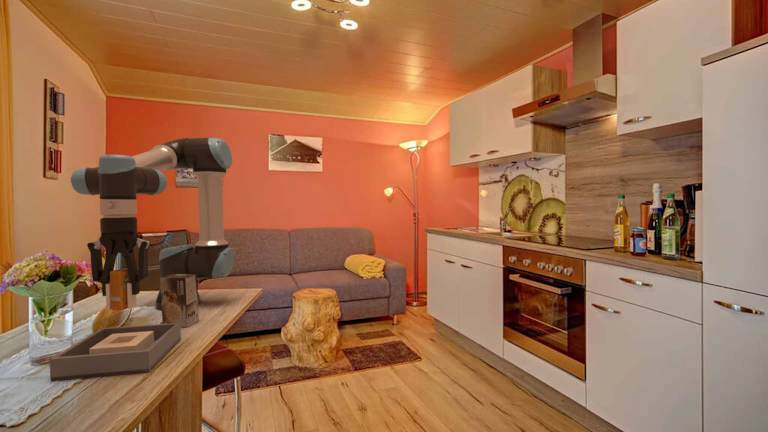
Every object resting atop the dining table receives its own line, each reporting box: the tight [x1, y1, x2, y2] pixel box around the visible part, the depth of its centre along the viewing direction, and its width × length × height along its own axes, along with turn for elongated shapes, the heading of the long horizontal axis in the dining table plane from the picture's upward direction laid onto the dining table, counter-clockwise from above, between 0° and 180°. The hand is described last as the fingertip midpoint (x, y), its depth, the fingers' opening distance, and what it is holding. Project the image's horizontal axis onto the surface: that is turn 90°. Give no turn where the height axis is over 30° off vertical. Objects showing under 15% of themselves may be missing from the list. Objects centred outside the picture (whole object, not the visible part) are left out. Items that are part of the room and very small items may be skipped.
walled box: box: [49, 323, 182, 382], centre depth 91 cm, size 20×20×5 cm
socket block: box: [89, 331, 154, 354], centre depth 91 cm, size 10×10×4 cm
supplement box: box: [110, 268, 130, 311], centre depth 90 cm, size 3×3×10 cm
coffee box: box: [159, 274, 200, 328], centre depth 116 cm, size 9×6×16 cm
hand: (121, 307), depth 90 cm, fingers closed on supplement box, 4 cm apart
